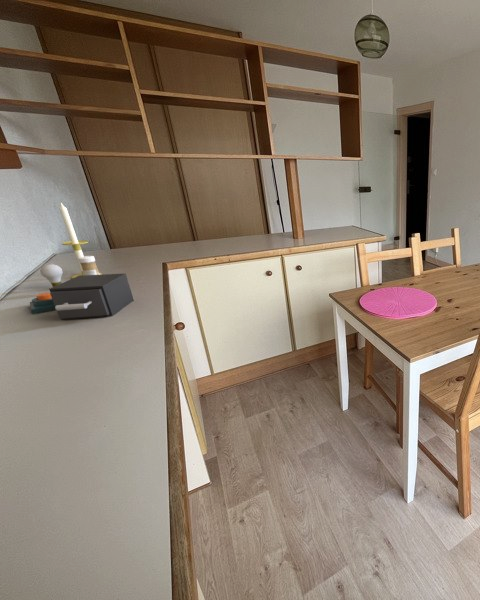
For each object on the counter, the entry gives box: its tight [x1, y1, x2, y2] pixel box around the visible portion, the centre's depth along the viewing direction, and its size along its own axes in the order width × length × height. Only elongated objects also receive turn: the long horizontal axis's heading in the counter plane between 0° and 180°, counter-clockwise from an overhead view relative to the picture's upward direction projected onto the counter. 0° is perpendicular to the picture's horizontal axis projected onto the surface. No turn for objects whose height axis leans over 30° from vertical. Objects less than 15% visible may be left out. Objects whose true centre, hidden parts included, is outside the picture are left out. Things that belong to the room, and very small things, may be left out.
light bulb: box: [40, 263, 64, 287], centre depth 125 cm, size 6×6×10 cm
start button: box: [36, 292, 52, 300], centre depth 107 cm, size 4×4×2 cm
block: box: [29, 297, 57, 315], centre depth 108 cm, size 10×8×4 cm
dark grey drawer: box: [49, 288, 109, 320], centre depth 103 cm, size 18×12×9 cm
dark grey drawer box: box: [48, 273, 135, 321], centre depth 106 cm, size 15×14×11 cm
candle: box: [59, 202, 102, 279], centre depth 137 cm, size 10×10×32 cm
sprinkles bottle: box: [77, 255, 100, 275], centre depth 124 cm, size 5×5×13 cm
